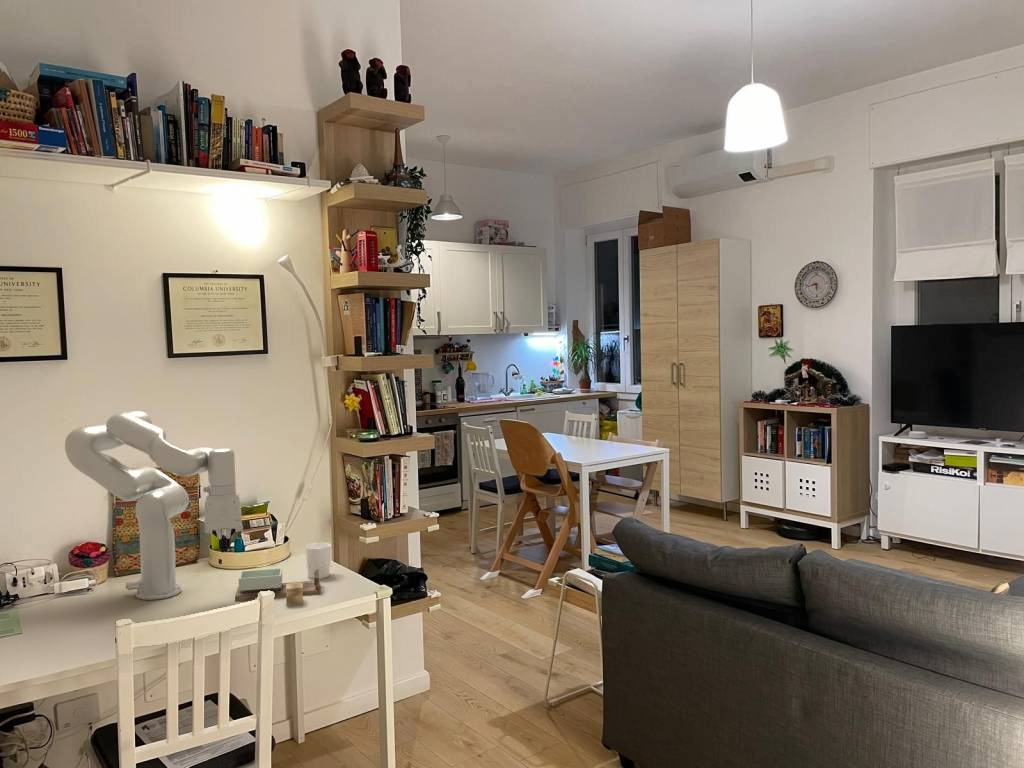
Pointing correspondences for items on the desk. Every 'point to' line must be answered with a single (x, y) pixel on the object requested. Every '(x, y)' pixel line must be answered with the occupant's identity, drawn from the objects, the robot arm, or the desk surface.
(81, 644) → the desk surface
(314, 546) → the white cup
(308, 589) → the rail
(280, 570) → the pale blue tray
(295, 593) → the block
